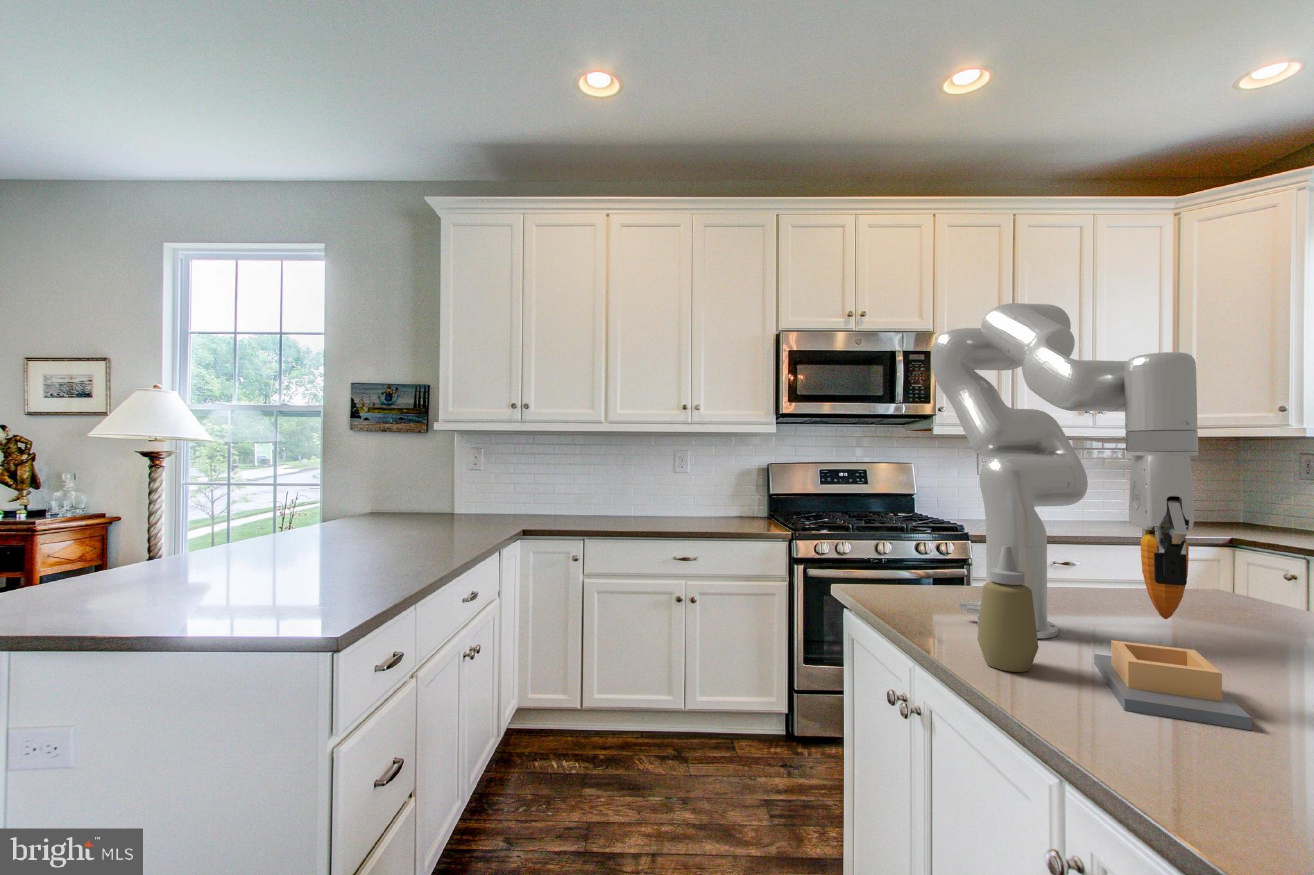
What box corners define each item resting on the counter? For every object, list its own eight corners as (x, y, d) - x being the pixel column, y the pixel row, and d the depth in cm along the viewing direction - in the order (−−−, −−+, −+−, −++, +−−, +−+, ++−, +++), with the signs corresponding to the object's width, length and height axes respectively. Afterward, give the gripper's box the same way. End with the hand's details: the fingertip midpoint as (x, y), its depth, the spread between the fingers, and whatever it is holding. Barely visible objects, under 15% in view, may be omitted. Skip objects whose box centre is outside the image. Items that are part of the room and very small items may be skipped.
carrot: (1132, 614, 83) (1130, 505, 84) (1165, 613, 84) (1163, 505, 84) (1165, 624, 78) (1163, 509, 79) (1200, 623, 79) (1198, 508, 79)
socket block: (1124, 710, 76) (1124, 670, 76) (1094, 663, 92) (1094, 630, 92) (1251, 730, 70) (1251, 687, 71) (1195, 676, 87) (1195, 642, 87)
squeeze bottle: (1031, 660, 93) (1030, 544, 94) (1045, 679, 86) (1045, 552, 86) (973, 654, 96) (972, 541, 96) (982, 672, 88) (981, 549, 89)
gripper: (1111, 445, 91) (1114, 567, 90) (1144, 444, 76) (1147, 590, 75) (1175, 445, 87) (1178, 571, 87) (1222, 444, 72) (1226, 596, 72)
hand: (1163, 578), depth 81 cm, fingers closed on carrot, 4 cm apart
